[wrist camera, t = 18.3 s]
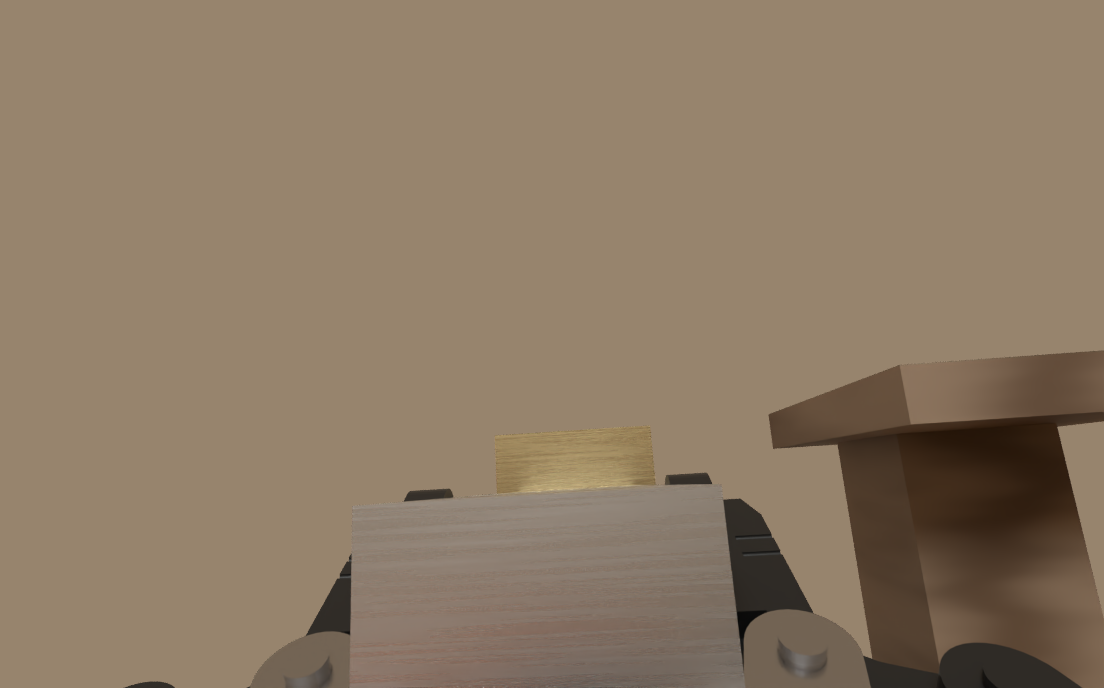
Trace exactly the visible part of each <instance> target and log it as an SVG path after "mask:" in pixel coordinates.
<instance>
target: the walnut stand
mask: <svg viewBox="0 0 1104 688" xmlns="http://www.w3.org/2000/svg"><path fill="white" fill-rule="evenodd" d="M769 421H770V428H771V435H772V443H773V449H775V448H790V447H806V446H822V445H837V444H838V449H839V456H840V462H841V468H842V474H843V480H844V486H845V493H846V499H847V504H848V511H849V517H850V523H851V529H852V535H853V542H854V548H855V554H856V560H857V566H858V572H859V579H860V585H861V591H862V597H863V603H864V608H865V615H866V621H867V627H868V634H869V640H870V646H871V652H872V658H873V659H874V660H876V661H880V662H884V663H888V664H893V665H898V666H903V667H908V668H913V669H918V670H922V671H927V672H932V673H937V674H939V666H940V661H941V659H942V657H943V655H944V654H945V653H946V652H947V651H948V650H949V649H951V648H953V647H955V646H957V645H961V644H965V643H974V642H975V643H990V644H997V645H1001V646H1006V647H1010V648H1013V649H1016V650H1019V651H1022V652H1024V653H1026V654H1029V655H1031V656H1033V657H1036V658H1037V659H1039V660H1041V661H1043V662H1045V663H1047V664H1048V665H1050V666H1052V667H1053V668H1055V669H1056V670H1058V671H1059V672H1061V673H1062V674H1064V675H1065V676H1066V677H1068V678H1069V679H1071V680H1072V681H1073V682H1075V683H1076V684H1078V685H1079V686H1081V687H1082V688H1104V618H1103V614H1102V610H1101V605H1100V601H1099V597H1098V593H1097V589H1096V585H1095V581H1094V577H1093V572H1092V569H1091V564H1090V560H1089V556H1088V552H1087V548H1086V544H1085V540H1084V535H1083V532H1082V527H1081V523H1080V519H1079V515H1078V511H1077V507H1076V503H1075V498H1074V495H1073V491H1072V486H1071V482H1070V478H1069V474H1068V470H1067V466H1066V461H1065V457H1064V453H1063V449H1062V445H1061V441H1060V437H1059V433H1058V429H1057V427H1058V426H1067V425H1075V424H1084V423H1093V422H1101V421H1104V351H1090V352H1076V353H1062V354H1048V355H1034V356H1020V357H1005V358H992V359H978V360H964V361H949V362H935V363H921V364H907V365H898V366H896V367H893V368H890V369H888V370H885V371H883V372H880V373H877V374H874V375H872V376H869V377H867V378H864V379H861V380H859V381H856V382H853V383H851V384H848V385H845V386H843V387H840V388H837V389H835V390H832V391H830V392H827V393H824V394H822V395H819V396H816V397H814V398H811V399H808V400H806V401H803V402H800V403H798V404H795V405H792V406H790V407H787V408H784V409H782V410H779V411H776V412H774V413H771V414H769Z"/></svg>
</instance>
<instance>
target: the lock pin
mask: <svg viewBox="0 0 1104 688" xmlns="http://www.w3.org/2000/svg"><path fill="white" fill-rule="evenodd" d="M495 450H496V478H497V494H489V495H477V496H466V497H453V498H443V499H430V500H418V501H406V502H394V503H383V504H371V505H359V506H353V507H352V564H351V626H350V688H745V680H744V671H743V663H742V654H741V646H740V638H739V629H738V621H737V612H736V604H735V595H734V587H733V579H732V570H731V562H730V553H729V545H728V536H727V528H726V520H725V511H724V503H723V494H722V486H721V484H691V485H656V484H655V473H654V464H653V452H652V442H651V431H650V426H635V427H620V428H605V429H589V430H574V431H558V432H543V433H527V434H512V435H496V436H495Z"/></svg>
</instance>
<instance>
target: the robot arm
mask: <svg viewBox="0 0 1104 688" xmlns="http://www.w3.org/2000/svg"><path fill="white" fill-rule="evenodd" d="M691 484H712V482H711V480H710V478H709V476H708V474H707V473H694V474H679V475H666V479H665V485H691ZM443 498H453V494H452V492H451V490H450V489H437V490H420V491H410V492H409V493H408V494H407V496H406V498H405V500H404V502H406V501H418V500H430V499H443ZM723 503H724V511H725V520H726V528H727V536H728V545H729V553H730V562H731V570H732V579H733V587H734V595H735V604H736V612H737V621H738V629H739V638H740V646H741V654H742V663H743V671H744V680H745V688H1082V687H1081V686H1079V685H1078V684H1076V683H1075V682H1073V681H1072V680H1071V679H1069V678H1068V677H1066V676H1065V675H1064V674H1062V673H1061V672H1059V671H1058V670H1056V669H1055V668H1053V667H1052V666H1050V665H1048V664H1047V663H1045V662H1043V661H1041V660H1039V659H1037V658H1036V657H1033V656H1031V655H1029V654H1026V653H1024V652H1022V651H1019V650H1016V649H1013V648H1010V647H1006V646H1001V645H997V644H990V643H975V642H974V643H965V644H961V645H957V646H955V647H953V648H951V649H949V650H948V651H947V652H946V653H945V654H944V655H943V657H942V659H941V661H940V666H939V674H937V673H932V672H927V671H922V670H918V669H913V668H908V667H903V666H898V665H893V664H888V663H884V662H880V661H876V660H874V659H871V658H868V657H865V656H863V654H862V651H861V649H860V647H859V646H858V644H857V642H856V641H855V640H854V639H853V637H852V636H851V635H850V634H849V633H848V632H846V631H845V630H844V629H843V628H841V627H840V626H839V625H837V624H836V623H834V622H832V621H830V620H828V619H826V618H824V617H822V616H819V615H816V614H814V613H813V611H812V609H811V607H810V606H809V604H808V602H807V600H806V598H805V596H804V594H803V592H802V591H801V589H800V587H799V585H798V583H797V581H796V579H795V577H794V575H793V574H792V572H791V570H790V568H789V566H788V564H787V563H786V560H785V559H784V557H783V555H781V554H780V549H779V547H778V545H777V544H776V542H775V540H774V538H772V536H771V532H770V530H769V528H768V527H767V525H766V523H765V521H764V519H763V517H762V515H761V514H760V513H758V512H757V511H756V510H754V509H753V508H752V507H750V506H749V505H748V504H747V503H745V502H744V501H743V500H741V499H728V500H723ZM351 564H352V553H351V555H350V557H349V562H346V564H345V566H344V568H343V570H342V571H341V573H340V579H337V580H336V582H335V584H334V586H333V588H332V589H331V591H330V593H329V595H328V597H327V599H326V600H325V602H324V604H323V606H322V607H321V609H320V611H319V613H318V615H317V616H316V618H315V620H314V622H313V624H312V626H311V627H310V629H309V631H308V633H307V635H306V636H304V637H302V638H299V639H297V640H295V641H293V642H291V643H289V644H287V645H286V646H284V647H282V648H281V649H279V650H278V651H277V652H276V653H274V654H273V655H272V656H271V657H270V658H269V659H268V660H267V661H265V663H264V664H263V665H262V666H261V667H260V669H259V670H258V671H257V673H256V675H255V676H254V679H253V681H252V684H251V686H250V687H248V688H350V626H351ZM125 688H174V687H173V686H172V685H170V684H168V683H164V682H144V683H139V684H135V685H131V686H128V687H125Z"/></svg>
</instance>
